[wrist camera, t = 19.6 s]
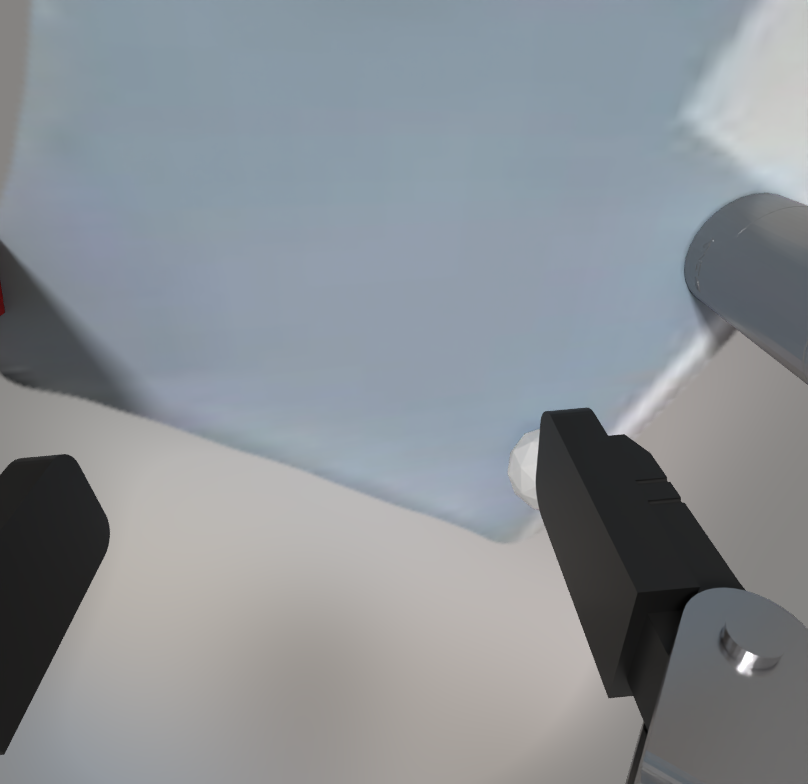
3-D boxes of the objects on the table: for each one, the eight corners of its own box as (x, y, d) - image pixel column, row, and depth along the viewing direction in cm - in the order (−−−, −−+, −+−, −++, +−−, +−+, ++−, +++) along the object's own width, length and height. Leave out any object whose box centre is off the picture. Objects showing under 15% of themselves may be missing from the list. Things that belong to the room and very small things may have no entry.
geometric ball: (540, 440, 56) (554, 518, 53) (484, 434, 51) (496, 519, 49) (602, 420, 50) (621, 506, 48) (546, 411, 46) (563, 506, 43)
